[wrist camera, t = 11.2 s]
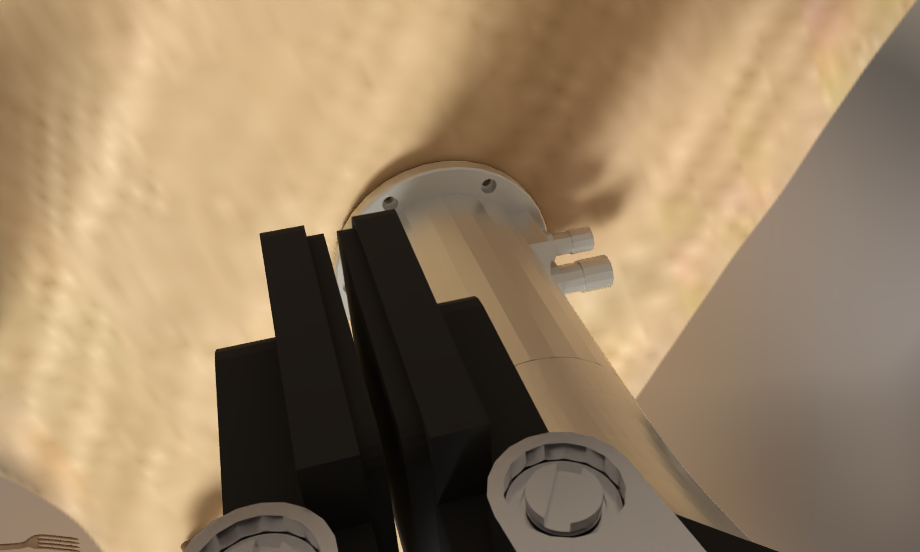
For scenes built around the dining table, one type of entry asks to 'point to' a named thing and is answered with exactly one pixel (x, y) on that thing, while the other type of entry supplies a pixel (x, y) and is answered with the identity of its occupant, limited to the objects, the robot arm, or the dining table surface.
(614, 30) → the dining table surface
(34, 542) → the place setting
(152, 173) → the dining table surface
